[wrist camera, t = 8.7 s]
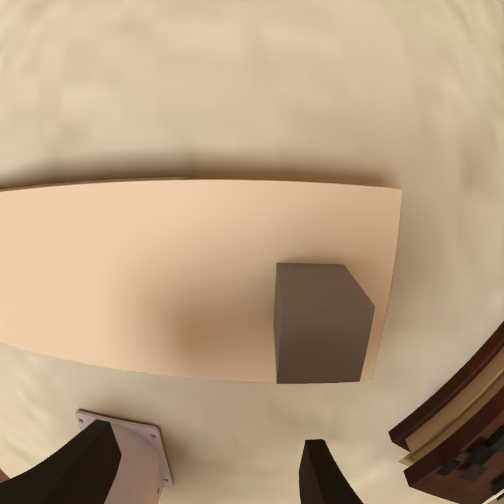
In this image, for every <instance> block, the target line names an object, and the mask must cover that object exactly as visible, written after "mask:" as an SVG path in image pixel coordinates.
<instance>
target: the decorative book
mask: <svg viewBox="0 0 504 504" xmlns="http://www.w3.org/2000/svg"><path fill="white" fill-rule="evenodd" d="M388 433H389V435H390V438H391V440H392V442H393V443H395V444H396V445H398V446H400V447H402V448H403V449H405V450H407V451H409V452H411V453H410V454H408V455H407V456H406V457H404V458H403V459H402V460H400V461H399V462H400V463H403V464H405V465H407V466H410V467H408V468H407V469H405V470H404V474H405V477H406V479H407V482H408V485H409V487H412V488H414V489H417V490H420V491H423V492H425V493H428V494H431V495H434V496H437V497H440V498H443V499H446V500H449V501H452V502H456V503H459V504H482V503H484V502H485V501H486V500H488V499H489V498H490V497H492V496H493V495H496V494H497V493H499V492H500V491H501V490H503V489H504V321H503V323H502V324H501V325H500V326H499V327H498V329H497V330H496V331H495V332H494V333H493V334H492V336H491V337H490V338H489V339H488V340H487V341H486V342H485V344H484V345H483V346H482V347H481V348H480V349H479V350H478V351H477V352H476V353H475V355H474V356H473V357H472V358H471V359H470V360H469V361H468V362H467V363H466V364H465V365H464V366H463V367H462V368H461V369H460V370H459V371H458V372H457V373H456V374H455V375H454V376H453V377H452V378H451V379H450V380H449V381H448V382H447V383H446V384H445V385H444V386H442V387H441V388H440V389H439V390H438V391H437V392H436V393H435V394H434V395H433V396H431V397H430V398H429V399H428V400H427V401H426V402H425V403H423V404H422V405H421V406H420V407H419V408H418V409H416V410H415V411H414V412H413V413H412V414H410V415H409V416H408V417H407V418H406V419H404V420H403V421H402V422H401V423H399V424H398V425H397V426H395V427H394V428H393V429H391V430H390V431H389V432H388ZM502 497H504V493H503V494H501V495H500V496H499V497H497V498H496V499H497V500H499V499H501V498H502Z"/></svg>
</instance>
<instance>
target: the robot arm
mask: <svg viewBox="0 0 504 504" xmlns="http://www.w3.org/2000/svg"><path fill="white" fill-rule="evenodd" d="M75 416H76V418H77V421H78V423H79V425H80V428H81V430H82V431H81V432H80V433H79V434H78V435H76V436H75V437H74V438H73V439H72V440H70V441H69V442H68V443H67V444H65V445H64V446H63V447H62V448H60V449H59V450H58V451H57V452H55V453H54V454H52V455H51V456H50V457H48V458H47V459H45V460H44V461H43V462H41V463H40V464H38V465H36V466H35V467H33V468H31V469H30V470H28V471H26V472H24V473H22V474H20V475H18V476H16V477H14V478H11V479H9V480H7V481H4V482H2V483H0V504H158V502H159V498H160V495H161V491H162V488H163V487H169V488H171V487H173V481H172V478H171V474H170V471H169V467H168V463H167V460H166V456H165V452H164V448H163V445H162V441H161V436H160V432H159V429H158V428H157V427H155V426H151V425H145V424H139V423H134V422H129V421H123V420H118V419H114V418H109V417H105V416H100V415H96V414H92V413H88V412H84V411H79V410H78V411H77V412H76V413H75ZM299 488H300V499H301V504H363V502H362V501H361V500H360V499H359V497H358V496H357V495H356V493H355V492H354V491H353V489H352V488H351V486H350V485H349V483H348V482H347V480H346V479H345V477H344V476H343V474H342V473H341V471H340V469H339V468H338V466H337V464H336V462H335V461H334V459H333V457H332V455H331V453H330V451H329V449H328V447H327V445H326V442H325V441H324V440H323V439H317V440H305V445H304V450H303V455H302V459H301V464H300V469H299Z"/></svg>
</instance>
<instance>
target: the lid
mask: <svg viewBox="0 0 504 504" xmlns="http://www.w3.org/2000/svg"><path fill="white" fill-rule="evenodd" d="M401 198H402V189H398V188H389V187H378V186H366V185H353V184H338V183H322V182H302V181H277V180H230V179H192V180H146V181H121V182H102V183H86V184H72V185H60V186H48V187H38V188H28V189H18V190H10V191H1V192H0V343H2V344H6V345H9V346H13V347H16V348H20V349H24V350H28V351H32V352H36V353H40V354H44V355H48V356H52V357H57V358H61V359H66V360H71V361H76V362H81V363H86V364H91V365H96V366H102V367H108V368H114V369H120V370H127V371H134V372H141V373H148V374H156V375H165V376H174V377H184V378H195V379H208V380H223V381H242V382H277V384H305V383H339V382H358V381H360V380H371V378H372V374H373V370H374V366H375V362H376V358H377V354H378V350H379V345H380V341H381V336H382V332H383V327H384V322H385V317H386V312H387V306H388V301H389V295H390V289H391V283H392V277H393V270H394V263H395V256H396V248H397V240H398V231H399V221H400V211H401Z"/></svg>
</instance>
